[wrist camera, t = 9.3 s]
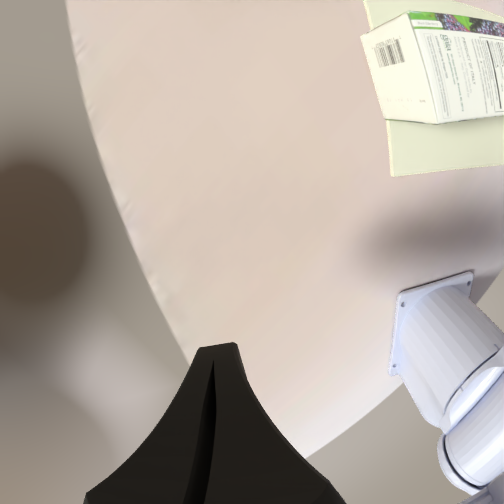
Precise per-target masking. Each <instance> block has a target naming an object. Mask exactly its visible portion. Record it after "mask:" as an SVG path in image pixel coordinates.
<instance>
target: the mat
mask: <svg viewBox="0 0 504 504" xmlns="http://www.w3.org/2000/svg"><path fill="white" fill-rule="evenodd" d="M363 2H364V5H365V9H366V13H367V17H368V21H369V25H370V30H372V29H373V28H375V27H377V26H378V25H380V24H382V23H384V22H386V21H388V20H390V19H392V18H394V17H396V16H398V15H400V14H402V13H405V12H406V11H421V12H434V13H444V14H452V15H461V16H467V17H473V18H479V19H485V20H490V21H495V22H500V23H504V17H501V16H499V15H496V14H493V13H491V12H488V11H485V10H482V9H479V8H476V7H473V6H470V5H467V4H463V3H460V2H456V1H453V0H363ZM386 125H387V134H388V145H389V157H390V171H391V176H393V177H397V176H405V175H413V174H421V173H429V172H438V171H446V170H456V169H465V168H476V167H487V166H498V165H504V116H500V117H491V118H483V119H475V120H467V121H460V122H451V123H445V124H439V125H431V124H423V123H414V122H404V121H390V120H386Z"/></svg>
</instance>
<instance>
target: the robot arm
mask: <svg viewBox="0 0 504 504" xmlns="http://www.w3.org/2000/svg"><path fill="white" fill-rule="evenodd" d="M472 282H473V273H471V272H470V271H469V272H466V273H462V274H459V275H456V276H453V277H450V278H447V279H443V280H440V281H437V282H434V283H430V284H427V285H423V286H420V287H417V288H413V289H410V290H406V291H403V292H401V293H399V295H398V296H397V304H396V314H395V324H394V333H393V341H392V348H391V355H390V362H389V368H388V374H389V375H390V376H394V375H397V374H399V375H400V377H401V379H402V380H403V382H404V384H405V386H406V387H407V389H408V391H409V393H410V395H411V396H412V398H413V400H414V402H415V404H416V405H417V407H418V409H419V411H420V413H421V415H422V416H423V417H424V419H425V420H426V421H428V422H429V423H430V424H432V425H434V426H436V427H438V428H441V429H442V431H443V434H442V435H441V436H440V438H439V440H438V445H437V451H438V459H439V463H440V466H441V469H442V471H443V473H444V474H445V476H446V477H447V479H448V480H449V481H450V482H451V483H452V484H453V485H455V486H456V487H457V488H459V489H461V490H464V491H466V492H467V493H469V494H470V495H472V496H471V497H469V498H467V499H465V500H464V501H462V502H461V503H458V504H504V333H503V332H502V331H501V330H500V329H499V328H498V327H497V326H496V325H495V324H494V323H493V322H492V321H491V320H490V319H489V318H488V317H487V316H486V315H485V314H484V313H483V312H482V311H481V310H480V309H479V308H478V307H477V306H476V305H475V304H474V303H473V302H472V301H471V300H470V299H469V297H470V292H471V287H472ZM403 302H404V303H403ZM402 303H403V304H402ZM83 504H346V503H345V501H344V500H343V498H342V497H341V496H340V494H339V493H338V492H337V491H336V489H335V488H334V487H333V486H332V484H331V483H330V481H329V480H328V479H326V478H325V477H324V476H323V475H322V474H321V473H319V472H318V471H317V470H316V469H315V468H314V467H313V466H312V465H310V464H309V463H308V462H307V461H306V460H305V459H304V458H303V457H302V456H301V455H300V454H299V453H298V452H297V451H296V449H295V448H294V447H293V446H292V445H291V444H290V443H289V442H288V440H287V439H286V438H285V437H284V436H283V435H282V434H281V432H280V431H279V430H278V428H277V427H276V426H275V425H274V423H273V422H272V420H271V419H270V418H269V416H268V415H267V413H266V412H265V410H264V409H263V407H262V406H261V404H260V402H259V401H258V399H257V397H256V396H255V394H254V392H253V390H252V388H251V387H250V384H249V382H248V380H247V377H246V373H245V370H244V367H243V363H242V360H241V356H240V353H239V349H238V346H237V344H236V343H234V342H231V343H225V344H219V345H213V346H206V347H200V348H199V349H198V350H197V352H196V355H195V357H194V359H193V362H192V364H191V366H190V368H189V370H188V372H187V374H186V376H185V378H184V380H183V382H182V384H181V386H180V388H179V390H178V392H177V394H176V395H175V397H174V399H173V400H172V402H171V404H170V405H169V407H168V409H167V410H166V412H165V413H164V415H163V417H162V418H161V419H160V421H159V423H158V424H157V425H156V427H155V428H154V429H153V431H152V432H151V433H150V435H149V436H148V437H147V438H146V439H145V441H144V442H143V443H142V444H141V445H140V447H139V448H138V449H137V450H136V451H135V452H134V453H133V454H132V455H131V456H130V457H129V458H128V459H127V460H126V461H125V462H124V463H123V464H122V465H121V466H120V467H119V468H118V469H117V470H116V471H114V472H113V473H112V474H111V475H110V476H109V477H108V478H106V479H105V480H103V481H102V482H101V483H99V484H98V485H97V486H95V487H94V488H93V489H91V490H90V491H89V492H87V493H86V496H85V499H84V503H83Z"/></svg>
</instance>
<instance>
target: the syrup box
mask: <svg viewBox="0 0 504 504" xmlns="http://www.w3.org/2000/svg"><path fill="white" fill-rule="evenodd" d="M360 38H361V41H362V44H363V47H364V51H365V54H366V58H367V61H368V65H369V68H370V72H371V75H372V79H373V82H374V86H375V90H376V93H377V97H378V100H379V103H380V107H381V110H382V113H383V116H384V119H385V120H390V121H404V122H414V123H423V124H431V125H439V124H445V123H451V122H460V121H467V120H475V119H483V118H491V117H500V116H504V23H500V22H495V21H490V20H485V19H479V18H473V17H467V16H461V15H452V14H444V13H434V12H421V11H406V12H405V13H402V14H400V15H398V16H396V17H394V18H392V19H390V20H388V21H386V22H384V23H382V24H380V25H378V26H377V27H375V28H373V29H372V30H370V31H369V32H367V33H366V34H363V35H361V37H360Z"/></svg>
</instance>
